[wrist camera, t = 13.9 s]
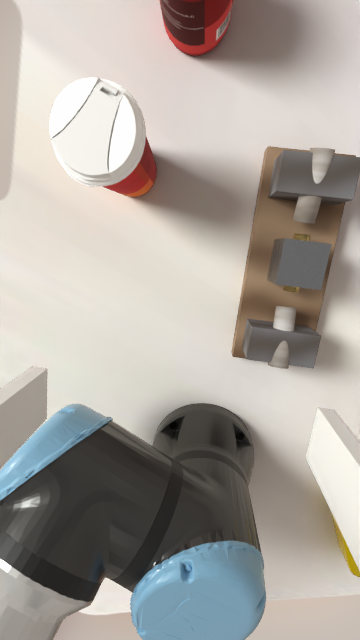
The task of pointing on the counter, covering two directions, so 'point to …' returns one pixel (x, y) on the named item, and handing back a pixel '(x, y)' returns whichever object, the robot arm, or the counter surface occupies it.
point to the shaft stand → (282, 222)
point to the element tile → (346, 551)
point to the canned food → (196, 23)
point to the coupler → (298, 263)
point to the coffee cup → (102, 137)
